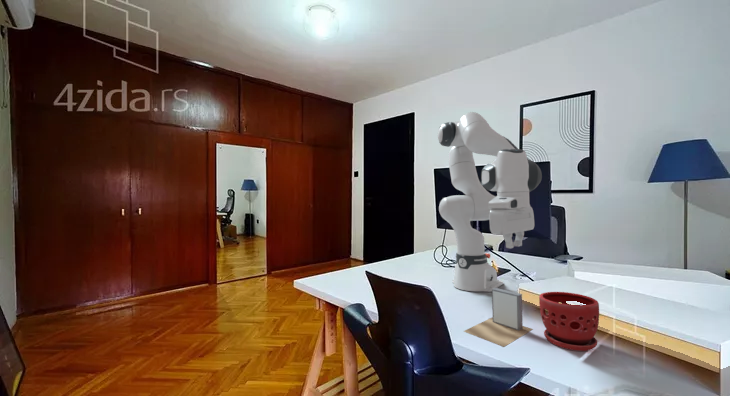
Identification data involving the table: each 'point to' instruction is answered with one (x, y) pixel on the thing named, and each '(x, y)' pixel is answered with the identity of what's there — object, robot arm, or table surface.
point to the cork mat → (496, 332)
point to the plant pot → (570, 320)
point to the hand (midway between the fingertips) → (514, 247)
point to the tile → (507, 308)
